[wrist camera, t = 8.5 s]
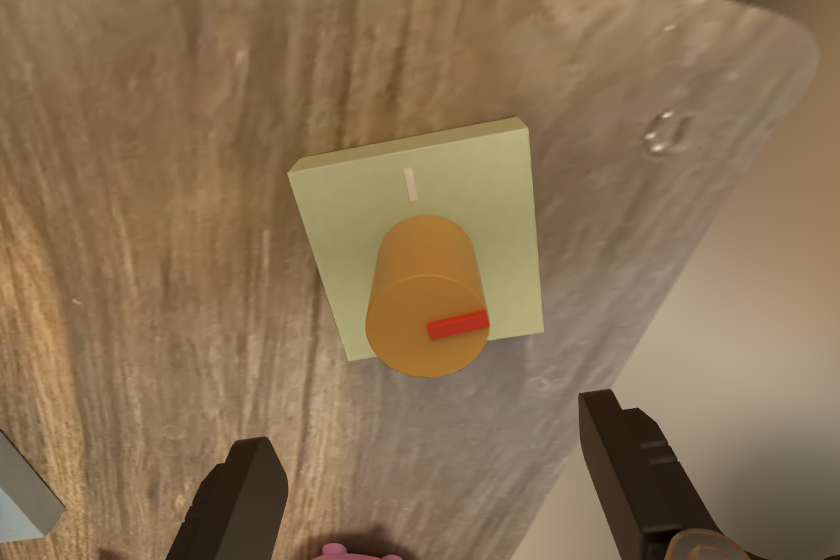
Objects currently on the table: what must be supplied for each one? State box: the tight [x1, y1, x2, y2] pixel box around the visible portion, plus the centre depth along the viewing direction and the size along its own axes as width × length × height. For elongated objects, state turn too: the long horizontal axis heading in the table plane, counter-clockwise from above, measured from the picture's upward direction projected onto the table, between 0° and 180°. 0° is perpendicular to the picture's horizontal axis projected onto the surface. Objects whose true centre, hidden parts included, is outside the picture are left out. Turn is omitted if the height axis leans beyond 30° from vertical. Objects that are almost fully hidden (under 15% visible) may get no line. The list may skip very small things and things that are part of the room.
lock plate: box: [287, 117, 544, 361], centre depth 23 cm, size 10×10×3 cm
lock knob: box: [365, 215, 490, 378], centre depth 19 cm, size 4×4×6 cm
